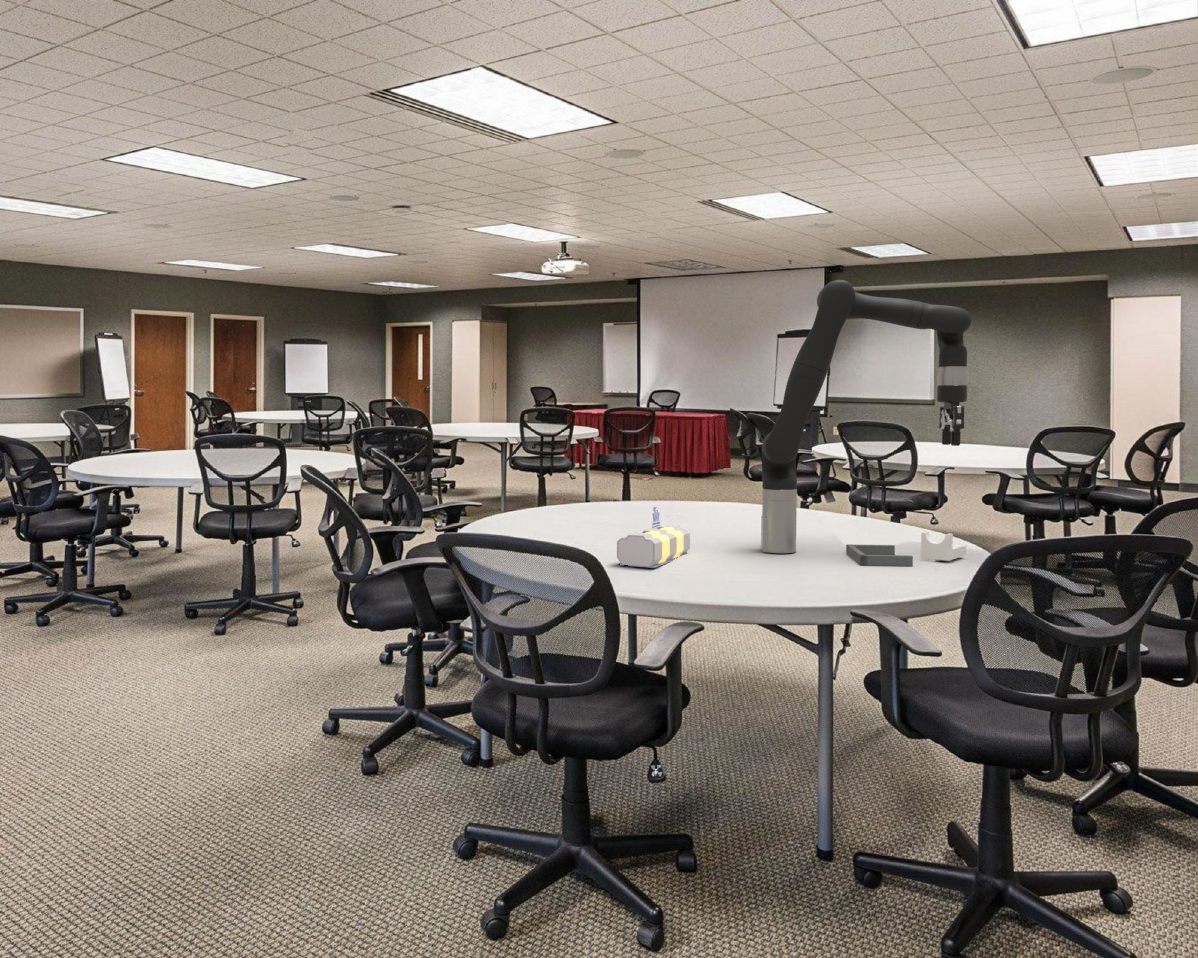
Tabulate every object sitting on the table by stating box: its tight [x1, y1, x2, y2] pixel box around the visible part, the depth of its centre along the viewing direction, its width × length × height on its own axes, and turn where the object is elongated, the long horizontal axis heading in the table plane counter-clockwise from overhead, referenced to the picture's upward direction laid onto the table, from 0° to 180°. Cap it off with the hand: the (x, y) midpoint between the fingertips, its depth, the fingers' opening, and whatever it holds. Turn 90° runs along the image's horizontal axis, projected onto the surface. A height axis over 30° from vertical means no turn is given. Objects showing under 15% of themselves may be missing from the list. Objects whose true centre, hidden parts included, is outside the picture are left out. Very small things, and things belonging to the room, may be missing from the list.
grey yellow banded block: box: [616, 506, 691, 569], centre depth 237 cm, size 25×10×13 cm, turn 154°
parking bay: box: [845, 544, 914, 567], centre depth 235 cm, size 12×21×2 cm, turn 174°
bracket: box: [920, 531, 967, 563], centre depth 236 cm, size 13×7×8 cm, turn 139°
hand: (950, 445), depth 242 cm, fingers open, 8 cm apart
